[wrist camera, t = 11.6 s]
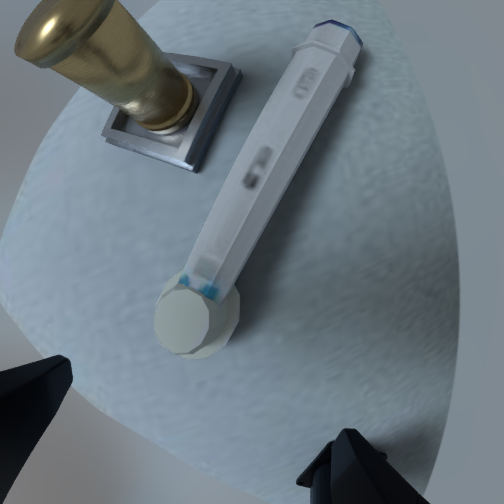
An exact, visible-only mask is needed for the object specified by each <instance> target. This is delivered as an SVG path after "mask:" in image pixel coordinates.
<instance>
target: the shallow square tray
mask: <svg viewBox="0 0 504 504" xmlns="http://www.w3.org/2000/svg"><path fill="white" fill-rule="evenodd" d="M163 53H164V54H165V55H166V56H167V58H168V59H169V60H170V61H171V62H172V64H173V65H174V66H175V67H176V69H177V70H178V71H180V72H182V73H183V74H185V75H186V76H187V78H188V79H189V80H190V82H191V83H192V84H193V85H194V87H195V88H196V90H197V94H198V104H197V108H196V110H195V113H194V114H193V116H192V117H191V119H190V120H189V121H188V122H187V123H186V124H185V125H184V126H183V127H181V128H180V129H178V130H176V131H174V132H172V133H168V134H155V133H152V132H150V131H148V130H147V129H145V128H143V127H142V126H140V125H138V124H137V123H136V122H135V121H134V119H133V117H131V116H130V115H128V114H126V113H125V112H123V111H122V110H120V109H118V108H117V107H115V106H114V108H113V110H112V112H111V114H110V116H109V118H108V120H107V122H106V125H105V127H104V129H103V131H102V134H101V135H102V136H104V137H106V138H107V139H106V141H105V142H107V143H110V144H112V145H115V146H118V147H121V148H125V149H128V150H131V151H134V152H137V153H140V154H143V155H146V156H149V157H152V158H155V159H157V160H160V161H163V162H166V163H169V164H172V165H175V166H177V167H180V168H183V169H186V170H189V171H191V172H194V173H197V171H198V169H199V167H200V164H201V162H202V160H203V157H204V155H205V153H206V151H207V148H208V146H209V144H210V142H211V140H212V137H213V135H214V133H215V131H216V129H217V127H218V124H219V122H220V120H221V118H222V116H223V114H224V112H225V110H226V108H227V106H228V104H229V102H230V100H231V98H232V96H233V94H234V92H235V90H236V88H237V86H238V84H239V82H240V80H241V78H242V76H243V75H242V72H241V70H240V69H236V68H233V66H232V63H227V62H222V61H217V60H212V59H207V58H201V57H195V56H188V55H181V54H174V53H165V52H163Z"/></svg>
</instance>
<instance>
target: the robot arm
mask: <svg viewBox="0 0 504 504" xmlns="http://www.w3.org/2000/svg"><path fill="white" fill-rule="evenodd" d="M72 381H73V374H72V368H71V362H70V360H69V359H68V358H66V357H64V356H62V355H56V356H52V357H49V358H46V359H42V360H39V361H36V362H32V363H29V364H25V365H22V366H19V367H15V368H12V369H8V370H4V371H1V372H0V504H3V502H4V500H5V498H6V496H7V494H8V492H9V490H10V488H11V487H12V485H13V483H14V481H15V479H16V478H17V476H18V474H19V472H20V471H21V469H22V467H23V466H24V464H25V462H26V461H27V459H28V457H29V456H30V453H31V452H32V451H33V449H34V447H35V446H36V444H37V443H38V441H39V439H40V438H41V436H42V435H43V433H44V432H45V430H46V428H47V427H48V426H49V424H50V422H51V421H52V419H53V418H54V416H55V415H56V413H57V411H58V409H59V407H60V405H61V403H62V401H63V399H64V397H65V395H66V393H67V391H68V389H69V388H70V386H71V384H72ZM330 447H332V448H330ZM386 460H387V455H386V454H385V453H381V452H377V451H376V450H375V449H374V448H373V447H372V446H371V444H370V443H369V442H368V441H367V440H366V439H365V438H364V437H363V436H362V435H361V434H360V433H359V432H358V431H357V430H356V429H351V428H344V429H343V430H342V431H341V432H340V434H339V435H338V437H337V438H336V440H335V441H334V442H330V443H328V444H327V445H326V446H325V448H324V449H323V450H322V451H321V452H320V454H319V455H318V456H317V457H316V458H315V460H314V461H313V462H312V463H311V464H310V465H309V466H308V468H307V469H306V470H305V471H304V472H303V473H302V474H301V475H300V476H299V477H298V478H297V480H296V484H297V485H299V486H303V487H308V488H310V504H430V503H429V502H428V501H426V499H424V498H423V497H422V496H421V495H420V494H418V492H417V491H416V490H415V489H414V488H413V487H412V486H411V485H410V484H409V483H408V482H407V481H406V480H405V479H404V478H403V477H402V476H401V475H400V474H399V473H398V472H397V471H396V470H395V469H394V468H393V467H392V466H391V465H390V464H389V463H388V462H387V461H386ZM301 481H302V482H301Z"/></svg>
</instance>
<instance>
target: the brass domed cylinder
mask: <svg viewBox="0 0 504 504" xmlns="http://www.w3.org/2000/svg"><path fill="white" fill-rule="evenodd" d="M14 49H15V54H16V55H17V56H18V57H20V58H22V59H24V60H26V61H28V62H30V63H32V64H34V65H35V66H37V67H40V68H51V69H52V70H54V71H56V72H57V73H59V74H61V75H63V76H65V77H66V78H68V79H70V80H72V81H73V82H75V83H77V84H79V85H80V86H82V87H84V88H85V89H87V90H89V91H90V92H92V93H94V94H95V95H97V96H99V97H100V98H102V99H104V100H105V101H107V102H109V103H110V104H112V105H113V106H115V107H117V108H118V109H120V110H122V111H123V112H125V113H126V114H128V115H130V116H131V117H133V119H134V121H135V122H136V123H137V124H138V125H140V126H142V127H143V128H145V129H147V130H148V131H150V132H152V133H155V134H168V133H172V132H174V131H176V130H178V129H180V128H181V127H183V126H184V125H185V124H186V123H187V122H188V121H189V120H190V119H191V117H192V116H193V114H194V113H195V110H196V108H197V104H198V94H197V90H196V88H195V87H194V85H193V84H192V83H191V82H190V80H189V79H188V78H187V76H186V75H185V74H183V73H182V72H180V71H178V70H177V69H176V67H175V66H174V65H173V64H172V62H171V61H170V60H169V59H168V58H167V56H166V55H165V54H164V53H163V52H162V50H161V49H160V48H159V47H158V46H157V44H156V43H155V42H154V41H153V40H152V38H151V37H150V36H149V35H148V34H147V33H146V31H145V30H144V29H143V28H142V27H141V26H140V25H139V23H138V22H137V21H136V20H135V19H134V18H133V17H132V15H131V14H130V13H129V12H128V11H127V10H126V9H125V8H124V7H123V5H121V3H120V2H119V1H118V0H42V1H41V2H40V3H39V4H38V5H37V7H36V8H35V9H34V10H33V12H32V13H31V14H30V16H29V17H28V18H27V20H26V22H25V23H24V25H23V27H22V28H21V30H20V32H19V34H18V37H17V40H16V43H15V48H14Z"/></svg>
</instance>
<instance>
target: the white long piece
mask: <svg viewBox="0 0 504 504" xmlns="http://www.w3.org/2000/svg"><path fill="white" fill-rule="evenodd" d="M362 45H363V42H362V40H361V39H360V38H359V36H358V35H357V33H356V32H355V31H354V29H353V28H352V27H350V26H347V25H345V24H342V23H340V22H337V21H334V20H328V21H325V22H322V23H318V24H316V25H315V26H314V28H313V29H312V31H311V32H310V33H309V35H308V36H307V37H306V39H305V40H304V42H303V43H301V44H298V45H295V46H294V47H293V48H292V60H291V62H290V63H289V65H288V67H287V69H286V70H285V72H284V74H283V75H282V77H281V79H280V80H279V82H278V84H277V86H276V87H275V89H274V91H273V93H272V94H271V96H270V98H269V100H268V101H267V103H266V105H265V107H264V109H263V110H262V112H261V114H260V116H259V118H258V119H257V121H256V123H255V125H254V127H253V129H252V131H251V132H250V134H249V136H248V138H247V140H246V142H245V144H244V146H243V147H242V149H241V151H240V153H239V155H238V157H237V159H236V161H235V163H234V165H233V167H232V169H231V171H230V173H229V175H228V177H227V179H226V181H225V183H224V185H223V187H222V189H221V191H220V193H219V195H218V197H217V199H216V201H215V203H214V205H213V207H212V209H211V211H210V213H209V215H208V217H207V219H206V222H205V224H204V226H203V228H202V230H201V232H200V234H199V236H198V239H197V241H196V243H195V245H194V247H193V249H192V252H191V254H190V256H189V258H188V261H187V263H186V265H185V267H184V268H183V269H182V270H181V271H180V272H178V273H177V274H176V275H175V276H173V277H172V278H171V279H169V280H168V281H167V282H166V284H165V286H164V288H163V290H162V292H161V294H160V296H159V299H158V301H157V303H156V310H155V312H154V333H155V335H156V337H157V339H158V340H159V342H160V344H161V346H162V347H164V348H166V349H167V350H169V351H171V352H172V353H174V354H176V355H178V356H180V357H182V358H184V359H201V358H207V357H209V356H210V355H212V354H213V353H215V352H216V351H218V350H219V349H221V348H222V347H224V346H225V345H226V344H227V343H228V341H229V339H230V337H231V335H232V333H233V332H234V330H235V328H236V326H237V324H238V322H239V318H240V294H239V292H238V290H237V289H236V287H235V285H234V283H235V282H236V280H237V278H238V276H239V274H240V273H241V271H242V269H243V267H244V265H245V264H246V262H247V260H248V258H249V256H250V254H251V253H252V251H253V249H254V247H255V245H256V244H257V242H258V240H259V238H260V236H261V235H262V233H263V231H264V229H265V227H266V225H267V224H268V222H269V220H270V218H271V216H272V215H273V213H274V211H275V209H276V207H277V206H278V204H279V202H280V200H281V198H282V196H283V195H284V193H285V191H286V189H287V187H288V186H289V184H290V182H291V180H292V178H293V177H294V175H295V173H296V171H297V169H298V167H299V166H300V164H301V162H302V160H303V158H304V157H305V155H306V153H307V151H308V149H309V148H310V146H311V144H312V142H313V140H314V139H315V137H316V135H317V133H318V131H319V129H320V128H321V126H322V124H323V122H324V120H325V119H326V117H327V115H328V113H329V111H330V110H331V108H332V106H333V104H334V102H335V100H336V99H337V97H338V95H339V93H340V91H341V90H342V88H348V87H349V85H350V83H351V80H352V77H353V75H354V72H355V69H354V68H353V66H354V64H355V62H356V60H357V58H358V56H359V54H360V51H361V48H362Z"/></svg>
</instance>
